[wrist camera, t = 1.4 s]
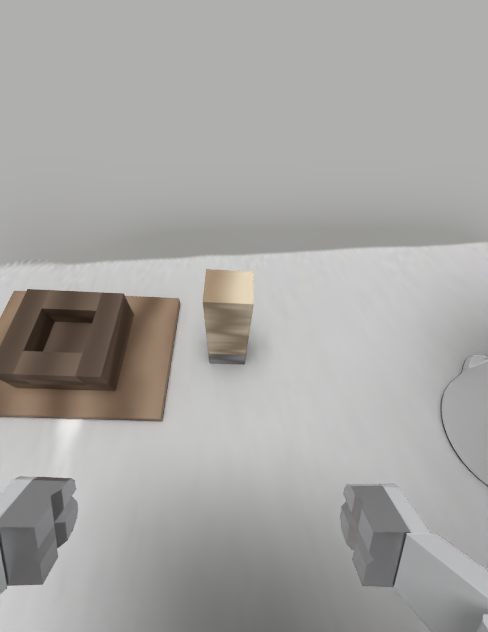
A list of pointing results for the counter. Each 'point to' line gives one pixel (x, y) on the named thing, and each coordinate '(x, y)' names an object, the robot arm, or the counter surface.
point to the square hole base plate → (86, 355)
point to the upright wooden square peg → (228, 314)
